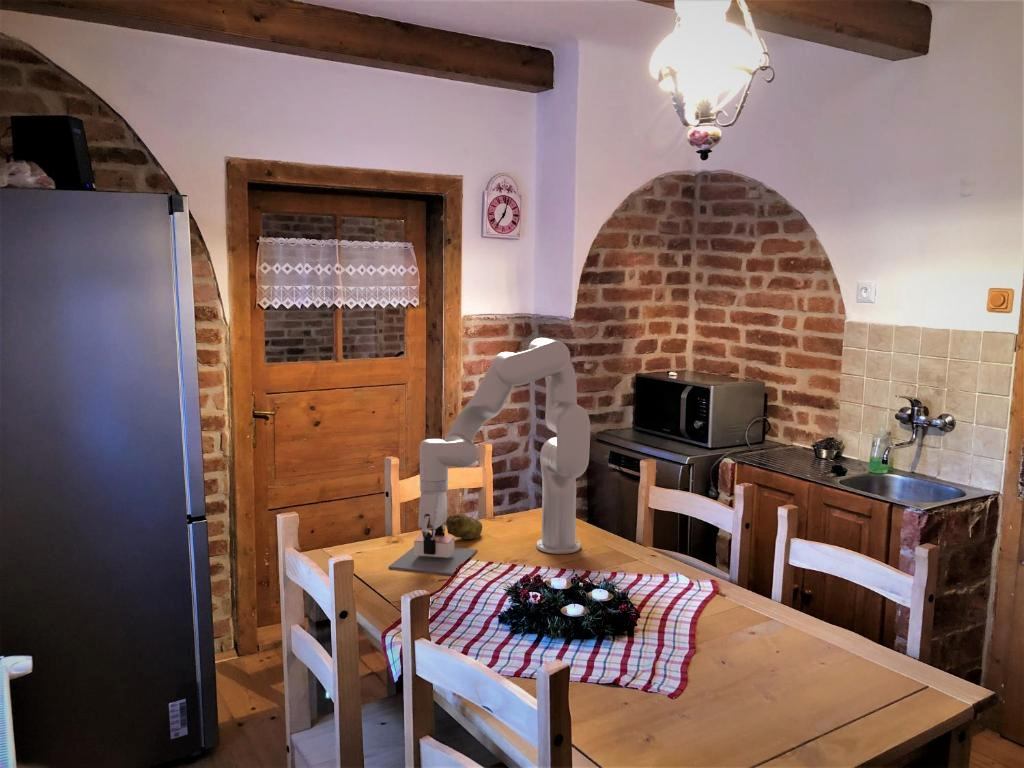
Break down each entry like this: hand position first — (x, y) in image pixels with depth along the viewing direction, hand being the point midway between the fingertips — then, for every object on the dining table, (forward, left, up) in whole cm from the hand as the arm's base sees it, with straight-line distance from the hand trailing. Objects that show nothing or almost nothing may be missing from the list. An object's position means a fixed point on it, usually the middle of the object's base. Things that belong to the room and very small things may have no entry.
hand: (434, 549), depth 223 cm
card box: (0, 0, -1) cm, 1 cm away
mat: (0, 0, -3) cm, 3 cm away
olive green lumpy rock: (-20, +2, -3) cm, 20 cm away
